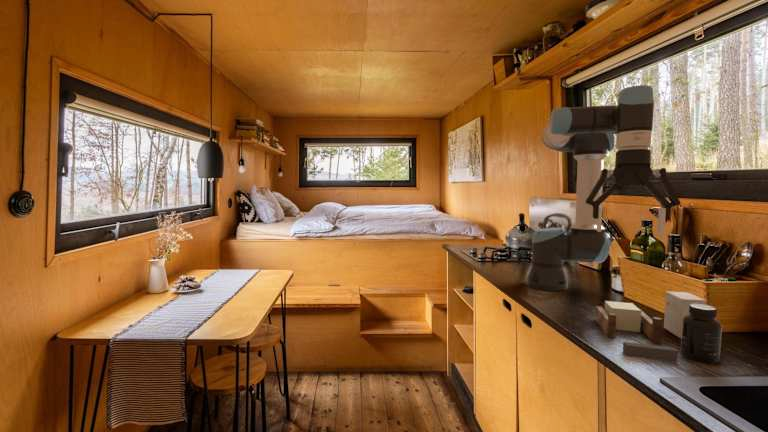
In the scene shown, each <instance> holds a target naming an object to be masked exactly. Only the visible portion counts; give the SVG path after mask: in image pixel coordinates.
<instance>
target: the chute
mask: <svg viewBox="0 0 768 432" xmlns="http://www.w3.org/2000/svg"><path fill="white" fill-rule="evenodd" d="M594 319H595V321H596V322H597V324H598V325H599V326H600V328H601V329H602V331H603V332H604V334H606V336H607V337H608V338H612V339H615V338H616V315H615V314H614V313H607V312H606V311H605V310H604V308H603V306H599V305H598V306H597V305H596V306H595V318H594ZM662 324H663V318H661V317H657V316H652V318H651V317H650V316H649V315H647V314H646V313H645V312H644V311H643V310H641V325H640V331H642V332H643V334H645V335H646V336H647V337H648V338H649V339H650V340H651V341H652V342H653V343H658V344H661V343H662V328H663V325H662Z"/></svg>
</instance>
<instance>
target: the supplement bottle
mask: <svg viewBox="0 0 768 432" xmlns="http://www.w3.org/2000/svg"><path fill="white" fill-rule="evenodd" d="M689 313H690V314H689V315H686V316H685V317H684V318H683V323H682V337H681V338H680V339H681V341H680V353H681V354H682V356H683V357H684V358H687V359H689V360H691V361H694V362H697V363H702V364H707V365H708V364H711V365H712V364H717V363H719V361H720V357H721V345H722V333H723V325H722V323H721V322H720V321H719V320H718V319H717V318H718V308H717V307H715V306H712V305H709V304H706V305H705V304H696V303H693V304H690V305H689Z"/></svg>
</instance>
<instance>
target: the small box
mask: <svg viewBox="0 0 768 432" xmlns="http://www.w3.org/2000/svg"><path fill="white" fill-rule="evenodd" d="M664 298H665V299H664V300H665V301H664V318H663V320H664V321H663V328H664V330H667V331H668V332H669V333H671V334H673V335H675V336H676V337H678V338H679V339H681V337H682V323H683V318H684V317H685V316H686V315H689V314H690V313H689V305H690V304H693V303H696V304H705V305H707V300H706V299H704V298H702V297H699V296H697V295H695V294H692V293H690V292H688V291H687V292H685V291H668V290H667V291H665V297H664Z"/></svg>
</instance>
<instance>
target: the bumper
mask: <svg viewBox="0 0 768 432" xmlns="http://www.w3.org/2000/svg"><path fill="white" fill-rule="evenodd" d="M622 344H623V345H622V353H623V354H624V356H626V357H632V358H633V357H634V358H641V359H649V360H658V361H659V360H660V361H666V362H675V363H677V362H678V356H679V354H678V353H679V352H678V350H677V349H676V348H675V347H674V346H664V345H655V344H647V343H637V342H627V341H623V343H622Z"/></svg>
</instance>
